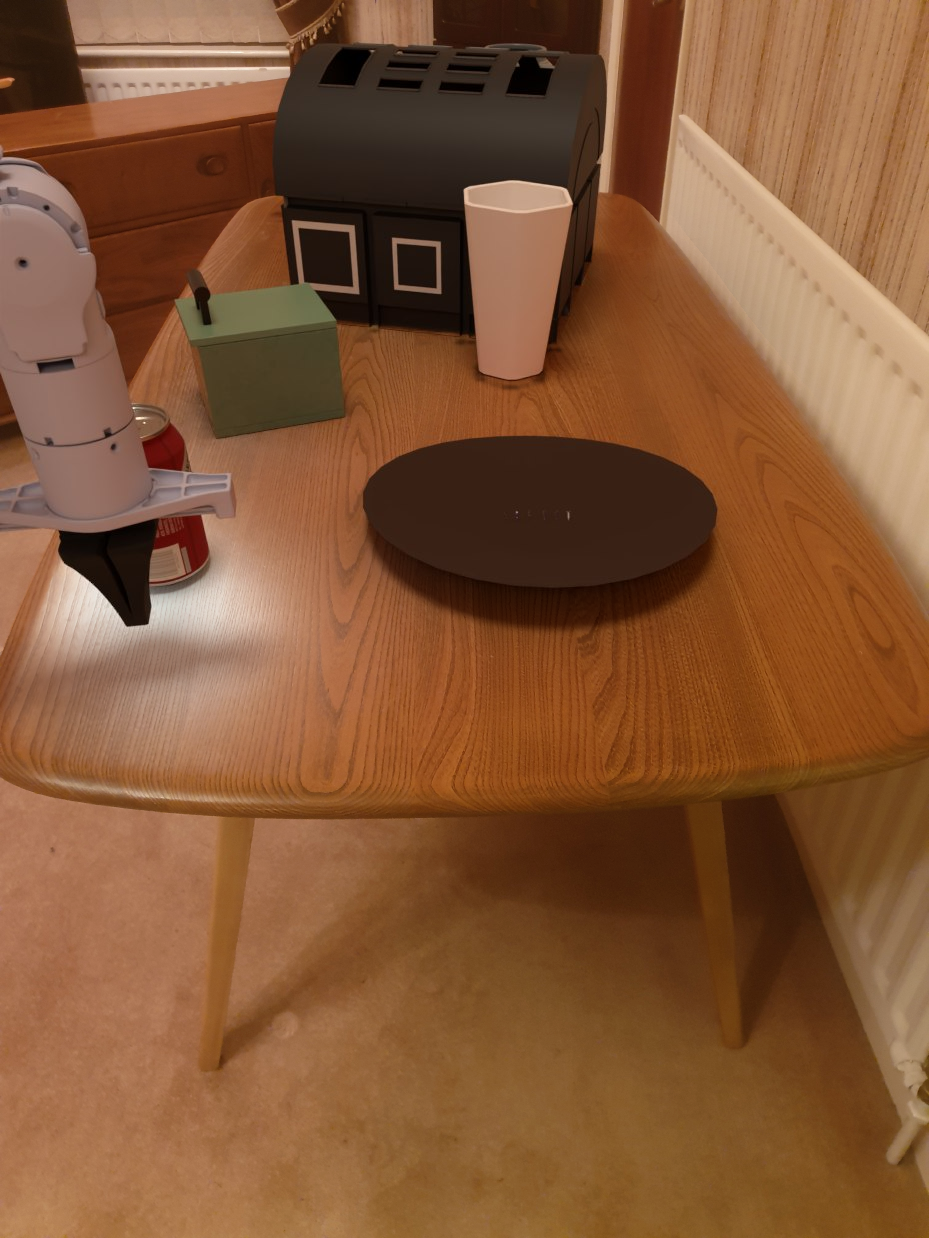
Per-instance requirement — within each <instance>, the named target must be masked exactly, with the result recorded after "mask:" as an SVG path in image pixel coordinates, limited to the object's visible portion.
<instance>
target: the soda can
mask: <svg viewBox="0 0 929 1238" xmlns="http://www.w3.org/2000/svg"><path fill="white" fill-rule="evenodd" d="M131 403H132V407H133V411H134V415H135V419H136V423H137V426H138V430H139V434H140V438H141V442H142V446H143V449H144V453H145V457H146V461H147V465H148V468H154V469H164V470H174V471H183V472H192V467H191V463H190V458H189V453H188V450H187V444H186V441H185V437H184V435H183V433H182V432H181V430H180V429H178V428H177V427H176V426H175V424H173V423H172V422H171V418H170V414H169V412H168V411H167V410H166V409H165V408H163V407H162V406H159V405H156V404H153V403H145V402H131ZM209 559H210V547H209V542H208V539H207V533H206V530H205V525H204V520H203V515H193V516H181V517H169V518H159V523H158V528H157V533H156V539H155V544H154V548H153V552H152V556H151V560H150V575H149V586H150V588H151V587H152V588H153V587H154V588H155V587H164V586H165V587H166V586H171V585H174V584H177V583H180V582H183V581H185V580H188V579H189V578H191V577H193V576H194V575H196V574H198V573H199V572H200V571H201V570H202V569H203V568H204V567H205V566H206V564H207V562H208V561H209Z"/></svg>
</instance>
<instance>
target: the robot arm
mask: <svg viewBox="0 0 929 1238" xmlns="http://www.w3.org/2000/svg"><path fill="white" fill-rule="evenodd" d="M90 245H91V244H90V239H89V231H88V227H87V223H86V219H85V216H84V214H83V211H82V209H81V207H80V206H79V205H78V203H77V201H76V199H75V198H74V197H73V195H72V194H71V193H70V191H69V190H68V189H67V188H66V187H65V186H64V185H63V184H62V183H61V182H59V180H57V179H56V178H55V177H53V176H51V175H50V174H49V173H48V172H47V171H46V169H44V167H43V166H42V165H41V164H40V163H39V162H36V161H33V160H30V159H26V158H21V157H12V156H5V157H4V148H3V146H2V145H0V375H1V379H2V381H3V384H4V387H5V389H6V393H7V396H8V398H9V401H10V403H11V406H12V409H13V411H14V414H15V418H16V420H17V423H18V426H19V429H20V431H21V434H22V435H21V436H22V438H23V441H24V443H25V445H26V448H27V451H28V454H29V457H30V459H31V463H32V465H33V468H34V471H35V473H36V476H37V479H38V480H35V481H31V482H27V483H22V484H19V485H14V486H9V487H7V488H6V487H5V488H1V489H0V533H5V532H16V531H28V530H38V529H40V530H41V529H45V530H53V531H54V530H55V531H57V532H58V534H59V535H58V539H59V544H58V548H57V553H58V555H59V557H60V559H61V561H62V563H63V564H64V565H66V566H67V567H68V568H71V569H72V570H74V571H75V572H77V573H78V574H79V575H81V576H82V577H83V578H85V580H87V581H88V582H89V583H90V584H91V585H93V587H95V588H96V590H98V592H100V593H101V595H102V596H103V597H104V598H105V599H106V601H107V602H108V603H109V604H110V605H111V607H112V608H113V610H115V612H116V614H117V615H118V616H119V618H120V619H121V620H122V622H123V624H124V627H126V628H130V627H131V628H132V627H141V626H147V625H149V624H150V619H151V613H152V607H153V606H152V601H151V592H150V591H151V590H150V589H151V587H150V586H149V575H150V560H151V556H152V552H153V548H154V544H155V539H156V533H157V528H158V523H159V518H169V517H181V516H193V515H201V516H203V515H204V516H205V515H214V514H215V516H216V518H217V519H219V520H227V519H235V518H236V515H237V495H236V491H235V486H234V481H233V480H234V479H233V475H232V473H231V472H225V473H223V472H222V473H205V472H203V473H202V472H194V471H193V472H183V471H174V470H164V469H154V468H148V465H147V461H146V457H145V453H144V449H143V446H142V442H141V438H140V434H139V430H138V426H137V423H136V419H135V415H134V411H133V407H132V403H133V402H132V400H131V396H130V391H129V388H128V384H127V380H126V377H125V372H124V369H123V365H122V362H121V357H120V354H119V350H118V347H117V343H116V338H115V335H114V332H113V329H112V328H111V326H110V325H109V324H108V323H107V321H106V307H105V304H104V300H103V297H102V295H101V293H100V292H99V290H98V289H97V288H96V283H97V260H96V256H95V255H94V254H93V253H92V251H91V246H90Z"/></svg>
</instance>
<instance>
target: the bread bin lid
mask: <svg viewBox="0 0 929 1238" xmlns="http://www.w3.org/2000/svg"><path fill="white" fill-rule="evenodd" d="M185 278H186V282H187V283H188V285H189V287H190V290H191V292H192V295H193V296H191V297H183V298H175V299H174V305H175V308H176V311H177V314H178V316H179V319H180V322H181V325H182V327H183V330H184V332H185V335H186V338H187V341H188V343H189V346H191V347H199V346H206V345H213V344H220V343H227V342H235V341H242V340H249V339H256V338H264V337H271V336H278V335H285V334H292V333H300V332H307V331H314V330H321V329H328V328H338V324H337V322H336V319H335V318H334V316H333V315H332V314H331V312H330V311H329V310H328V308H327V307H326V306H325V304H324V303H323V301H322V300H321V299H320V297H319V296H318V295H317V293H316V292H315V291H314V289H313V288H312V287H311V285H310V284H309V283H305V284H297V285H290V284H289V285H282V286H273V287H266V288H258V289H249V290H241V291H233V292H224V293H217V294H211V291H210V289H209V287H208V285H207V283H206V281H205V278H204V276H203V274H202V273H201V271H200V270H199V269H197V268H191V269H189V270H188V271H187V272H186V277H185ZM191 347H190V348H191Z"/></svg>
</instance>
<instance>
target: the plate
mask: <svg viewBox="0 0 929 1238" xmlns="http://www.w3.org/2000/svg"><path fill="white" fill-rule="evenodd" d="M362 509H363V511H364V513H365V515H366V518H367V520H368V522H369V524H370V526H372V527H373V528H374V529H375V531H376V532H378V534H379V535H380V536H381V537H382V538H383V539H384V541H386V542H388V543H389V544H390V545H392V546H394V547H395V548H396V549H398V550H400V551H401V552H402V553H404V554H406V555H407V556H409V557H411V558H412V559H413V558H414V559H416V560H418V561H420V562H422V563H425V564H427V565H429V566H431V567H433V568H436V569H438V570H442V571H445V572H449V573H451V574H455V575H458V576H462V577H466V578H469V579H472V580H478V581H483V582H491V583H495V584H501V585H506V586H507V585H508V586H517V587H532V588H551V589H554V588H555V589H559V588H575V587H591V586H592V587H593V586H601V585H606V584H610V583H616V582H622V581H623V582H624V581H629V580H633V579H637V578H639V577H642V576H645V575H649V574H651V573H655V572H659V571H661V570H664V569H666V568H667V567H670V566H671V565H673V564H676V563H678V562H679V561H681V560H683V559H685V558H687V557H689V556H690V555H691V554H692V553H694V552H695V551H696V550H697V549H699V548H700V547H701V546H702V545H703V544H704V543H706V541H707V540H708V538H709V536H710V535H711V533H712V531H713V530H714V528H715V527H716V525H717V518H718V506H717V503H716V500H715V496H714V494H713V492H712V491H711V490H710V489H709V488H708V486H707V485H706V484H705V483H704V481H703V480H702V479H701V478H699V477H698V476H697V475H695V474H694V473H693V472H691V471H690V470H688V469H687V468H685V467H684V466H682V465H680V464H678V463H676V462H674V461H672V460H669V459H668V458H666V457H664V456H662V455H661V456H660V455H659V454H655V453H651V452H650V451H649V452H648V451H646V450H643V449H640V448H635V447H631V446H627V445H622V444H618V443H614V442H607V441H601V440H594V439H588V438H577V437H566V436H555V435H553V436H552V435H496V436H495V435H494V436H483V437H471V438H469V437H468V438H464V439H463V438H462V439H456V440H451V441H445V442H444V441H443V442H440V443H435V444H432V445H427V446H424V447H423V446H422V447H419V448H417V449H414V450H411V451H408V452H406V453H404V454H401V455H399V456H396V457H394V458H393V459H391V460H390V461H388V462H386V463H385V464H383V465H381V466H380V467H379V468H378V469H377V470H376V471H375V472H374V473H373V474H372V475H371V476H370V477H369V478H368V480H367V482H366V485H365V486H364V489H363V491H362Z"/></svg>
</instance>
